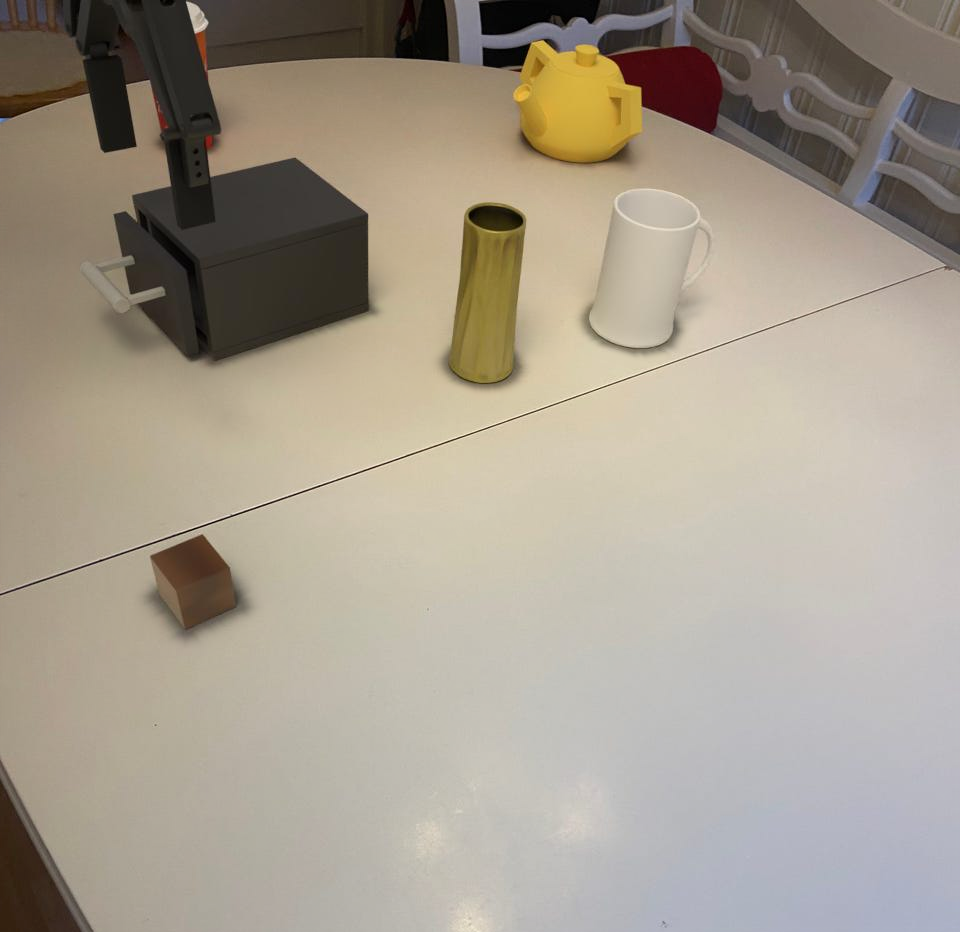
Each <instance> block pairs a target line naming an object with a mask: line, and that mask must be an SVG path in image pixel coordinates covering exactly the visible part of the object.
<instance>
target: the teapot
mask: <svg viewBox="0 0 960 932" xmlns="http://www.w3.org/2000/svg"><path fill="white" fill-rule="evenodd" d="M599 53H600V50H599V48H598V47H596V46H594V45H591V44H584V43H583V44H579V45H576V46H575V47H574V51H572V50H571V51H564V52H560V53H558V52H557V51H556V50H555V49H554V48H553V47H551V46H550V45H549V44H548V43H547V42H545V40H543V39H542V40H538V41H533V42H531V43H530V45H529V49H528V51H527V55H526V57H525V60H524V63H523V66H522V68H521V72H520V74H519V79H520V81H521V84H522V85H519V86H518V87H517V88H516V89H515V90H514V92H513V100H514V101H515V103H516V105H517V106H518V108H519V110H520V116H519V125H520V128H521V131H522V133H523V135H524V136H525V138H526V140H527V141H528V142H529V144H530V145H531V146H532V147H533V149H535V150H536V151H538V152H539V153H541V154H543V155H545V156H547V157H550V158H552V159H556V160H560V161H565V162H571V163H578V164H579V163H583V164H586V163H587V164H588V163H597V162H602V161H605V160H608V159H610V158H612V157H614V156H615V155H616V154H617V153H618V152H619V151H620V150H622V149H623V148H624V147H625V146H626V145H627V144H628V142H629V141H630V140H632V139H633V138H634V137H637V135H640V134H641V133H642V132H643V112H642V111H643V110H642V108H643V107H642V106H643V105H642V87H640V86H636V85H631V84H626V82H625V79H624V75H623V74H622V71H621V70H620V67H619V65H618V64H617V63H616V62H615V61H613V60H612V59H610V58H608V57H607V56H604V55H601V54H599Z"/></svg>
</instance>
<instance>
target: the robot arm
mask: <svg viewBox="0 0 960 932" xmlns="http://www.w3.org/2000/svg"><path fill="white" fill-rule="evenodd" d="M186 1H187V0H62V9H63V10H62V11H63V29H64V31H65V33H66V34H67V36H68V38H70V39H73V38H75V47H76V50H77V51H78V53H79V55H80V56H81V57H85V59H82V64H83V70H84V75H85V80H86V84H87V89H88V94H89V98H90V104H91V109H92V113H93V119H94V123H95V128H96V133H97V138H98V143H99V149H100V150H101V151H102V152H103V153H104V154H107V153H111V152H117V151H123V150H127V149H133V148H137V147H138V145H137V139H136V133H135V127H134V121H133V116H132V110H131V105H130V100H129V94H128V89H127V81H126V77H125V70H124V65H123V59H122V57H121V56H120V55H118V54H112V55H110V54H109V53H112V52H113V53H114V52H120V51H123V50H124V47H122V46H123V44H122V42H121V40H120V37H119V36H118V33H119V27H121V29H122V30H123V31H124V32H125V33H127V34H130V35H131V36H132V38H133V42H134V43H135V47H136V49H137V52H138V54H139V56H140V59H141V62H142V64H143V67H144V69H145V72H146V75H147V77H148V80H149V82H150V86H151V85H152V88H153V90H154V93H155V96H156V98H157V101H158V103H159V106H160V109H161V111H162V114H163V116H164V119H165V122H166V124H167V127H168V128H165V129H163V131H162V132H161V131H160V134H159V137H160V139H161V141H162V142H163V143H165V144H164V148H165V155H166V162H167V168H168V175H169V182H170V186H171V189H172V195H173V202H174V209H175V215H176V222H177V226H178V227H179V228H180V229H181V230H184V229H188V228H192V227H196V226H201V225H205V224H209V223H213V222H216V220H215V212H214V204H213V195H212V187H211V179H210V177H211V171H210V163H209V154H208V149H207V146H206V137H207V136H212V137H213V136H217V135H220V134H222V133H221V132H222V126H221V122H220V118H219V115H218V111H217V108H216V104H215V100H214V97H213V93H212V90H211V86H210V82H209V78H208V79H207V75H206V71H205V68H204V64H203V61H202V57H201V53H200V50H199V46H198V43H197V39H196V36H195V32H194V28H193V25H192V21H191V18H190V14H189V10H188V7H187V3H186ZM77 16H78V17H77ZM152 88H151V89H152Z"/></svg>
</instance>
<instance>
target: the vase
mask: <svg viewBox="0 0 960 932" xmlns="http://www.w3.org/2000/svg"><path fill="white" fill-rule="evenodd" d="M462 226H463V228H462V242H461V243H462V244H461V254H460V271H459V280H458V281H459V282H458V289H457V296H456V302H455V303H456V304H455V311H454V320H453V327H452V336H451V344H450V345H451V346H450V352H449V356H448V365H449V367H450V369H451V370H452V371H453V372H454V373H455V374H456V375H458V377H460V378H461V379H464V380H467V381H469V382H473V383H479V384H489V383H496V382H500V381H502V380H504V379H506V378H507V377H508V376H509V375H510V374H511V373H512V372H513V370H514V367H515V366H514V353H515V344H516V331H517V330H516V329H517V313H518V303H519V300H518V299H519V293H520V284H521V274H522V264H523V255H524V246H525V237H526V236H525V235H526V228H527V217H526V215H525V214H524V213H523V212H522V211H521V210H520V209H517V208H516V207H514V206H512V205H509V204H506V203H502V202H493V201H492V202H491V201H489V202H480V203H479V202H478V203H476V204H473V205H472V206H470V207H468V208H467V209H466V211H465V212H464V215H463V225H462Z"/></svg>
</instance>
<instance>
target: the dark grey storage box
mask: <svg viewBox="0 0 960 932" xmlns="http://www.w3.org/2000/svg"><path fill="white" fill-rule="evenodd" d="M210 179H211V187H212V195H213V204H214V212H215V220H216V222H213V223H209V224H205V225H201V226H196V227H192V228H188V229H184V230H181V229H180V228H179V227H178V226H177V222H176V215H175V209H174V202H173V195H172V189H171V185H170V186H165V187H161V188H157V189H153V190H148V191H144V192H140V193H139V192H138V193H135V194H132V195H131V198H132V203H133V208H134V213H135V218H136V219H135V220H136V221H137V222H138V223H139V224H140V225H141V226H142V227H143V228H144V229H145V230H146V231H147V232H148V233H149V230H148V225H147V219H146V217H147V218H148V219H149V220H150V221H151V222H152V223H153V224H154V225H155V226H156V227H157V228H159V229H160V230H161V231H162V232H163V233H164V234H165V235H166V236H167V237H168V238H169V239H170V240H171V241H172V242H173V243H174V244H175V245H176V246H177V247H178V248H179V249H180V250H181V251H182V252H184V253H185V254H186V255H187V256H188V257H189V258H190V259H191V260H192V261H193V262H194V263H195V264H196V265H197V273H198V280H199V286H200V293H201V300H202V306H203V313H204V320H205V326H206V333H207V337H206V336H205V335H204V333H203V332H202V331H201V330H200V329H199V328H198V327H197V326H196V325H195V328H196V334H197V340H198V346H199V347H200V348H201V349H202V350H203V351H204V352H205V353H207V355H208V356H209V357H210V358H211V359H212V360H213V361H214V362H215V361H219V360H222V359H225V358H227V357H230V356H234V355H236V354H240V353H243V352H246V351H249V350H252V349H254V348H255V349H256V348H258V347H261V346H264V345H267V344H270V343H273V342H277V341H280V340H282V339H286V338H288V337H289V338H290V337H292V336H295V335H298V334H301V333H304V332H307V331H310V330H313V329H316V328H319V327H322V326H326V325H328V324H332V323H335V322H338V321H341V320H344V319H346V318H350V317H353V316H357V315H359V314H362V313H366V312H368V311H369V310H370V309H369V307H370V305H369V304H370V303H369V300H370V299H369V296H370V295H369V213H368V212H367V211H365V210H364V209H363V208H362V207H360V206H359V205H358V204H356V202H354V201H352V200H351V199H350V198H348V197H347V196H346V195H345V194H343V193H342V192H341V191H340V190H338V189H337V188H336V187H334V186H333V185H332V184H331V183H329V182H328V181H327V180H326V179H324V178H323V177H322V176H320V175H319V174H317V172H315V171H313V170H312V169H311V168H310V167H308V165H306V164H305V163H303V162H302V161H301V160H299V158H297V157H291V158H286V159H281V160H278V161H277V160H276V161H273V162H269V163H265V164H260V165H256V166H251V167H247V168H242V169H239V170H235V171H231V172H225V173H221V174H216V175H214V176H210Z"/></svg>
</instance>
